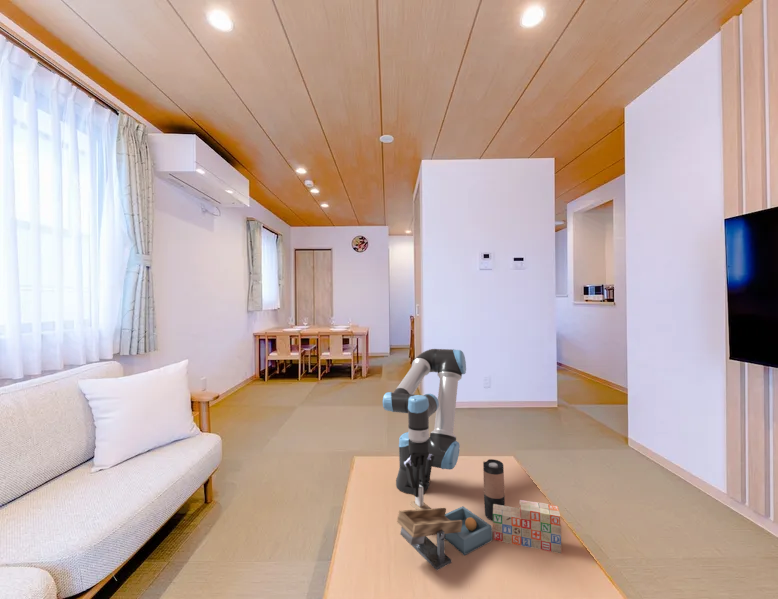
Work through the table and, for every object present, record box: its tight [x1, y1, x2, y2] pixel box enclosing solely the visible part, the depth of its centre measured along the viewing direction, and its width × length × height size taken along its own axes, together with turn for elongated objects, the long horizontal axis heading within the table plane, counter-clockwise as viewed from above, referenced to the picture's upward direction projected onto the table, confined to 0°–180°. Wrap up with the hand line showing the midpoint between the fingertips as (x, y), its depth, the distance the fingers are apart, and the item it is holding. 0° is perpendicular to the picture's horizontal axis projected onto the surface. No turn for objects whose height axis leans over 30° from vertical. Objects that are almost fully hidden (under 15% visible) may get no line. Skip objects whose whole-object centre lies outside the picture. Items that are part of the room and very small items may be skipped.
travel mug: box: [482, 458, 506, 522], centre depth 131 cm, size 8×8×20 cm
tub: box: [444, 505, 493, 557], centre depth 120 cm, size 13×14×5 cm
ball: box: [465, 517, 477, 531], centre depth 122 cm, size 4×4×4 cm
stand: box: [411, 530, 453, 572], centre depth 112 cm, size 6×14×10 cm, turn 31°
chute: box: [396, 501, 462, 546], centre depth 117 cm, size 20×20×6 cm
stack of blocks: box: [492, 499, 562, 554], centre depth 117 cm, size 21×6×12 cm, turn 70°
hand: (419, 504), depth 125 cm, fingers closed
